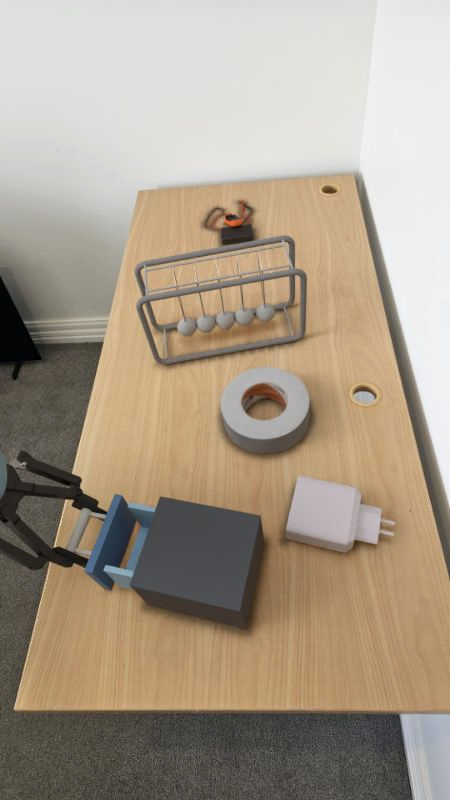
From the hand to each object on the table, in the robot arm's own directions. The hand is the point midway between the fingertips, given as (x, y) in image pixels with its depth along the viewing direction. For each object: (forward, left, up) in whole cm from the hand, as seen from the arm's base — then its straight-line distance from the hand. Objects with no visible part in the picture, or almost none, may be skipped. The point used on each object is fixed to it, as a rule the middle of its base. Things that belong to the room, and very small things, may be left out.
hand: (103, 542), depth 74 cm
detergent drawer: (+2, -5, -3) cm, 6 cm away
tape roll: (+33, -8, -4) cm, 35 cm away
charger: (+22, -28, -4) cm, 36 cm away
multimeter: (+78, +30, -4) cm, 84 cm away
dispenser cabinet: (+5, -15, -4) cm, 16 cm away
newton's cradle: (+47, +10, -4) cm, 48 cm away
